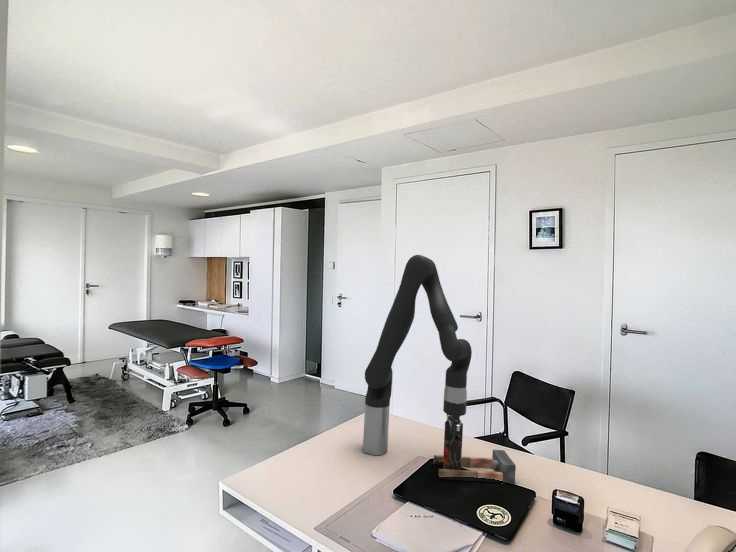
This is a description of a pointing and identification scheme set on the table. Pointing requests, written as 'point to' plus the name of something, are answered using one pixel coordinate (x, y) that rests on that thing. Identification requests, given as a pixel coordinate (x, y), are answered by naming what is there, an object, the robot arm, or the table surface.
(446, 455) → the deodorant
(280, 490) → the table surface
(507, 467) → the guide channel
